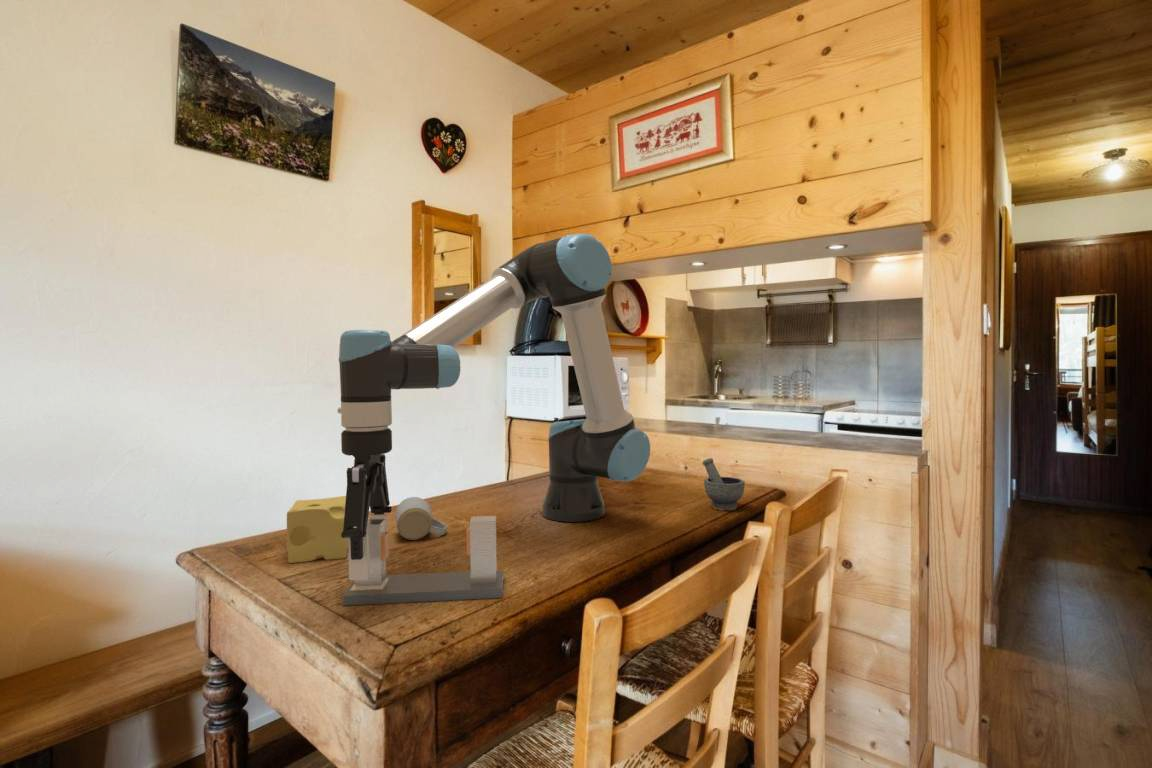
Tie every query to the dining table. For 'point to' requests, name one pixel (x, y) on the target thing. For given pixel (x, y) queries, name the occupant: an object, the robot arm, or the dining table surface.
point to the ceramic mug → (417, 519)
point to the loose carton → (376, 554)
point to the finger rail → (443, 576)
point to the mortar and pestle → (722, 488)
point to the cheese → (316, 530)
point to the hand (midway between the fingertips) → (369, 565)
